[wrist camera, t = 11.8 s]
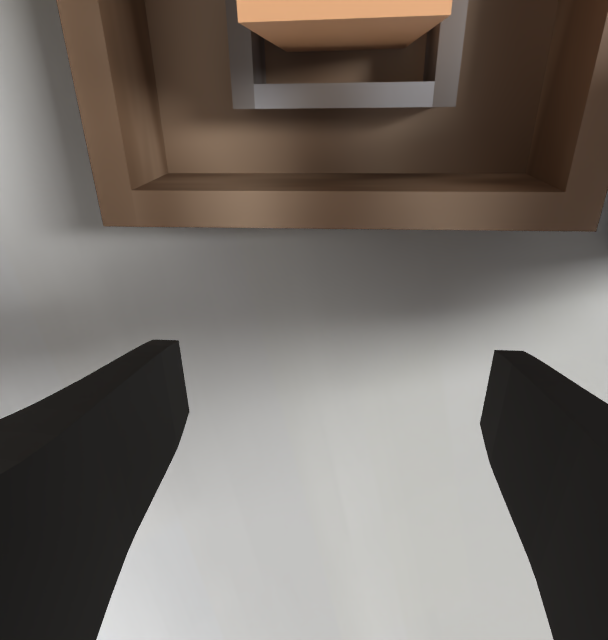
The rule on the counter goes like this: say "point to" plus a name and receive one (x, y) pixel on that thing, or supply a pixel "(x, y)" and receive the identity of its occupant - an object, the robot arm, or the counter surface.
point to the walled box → (344, 119)
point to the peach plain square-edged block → (341, 22)
